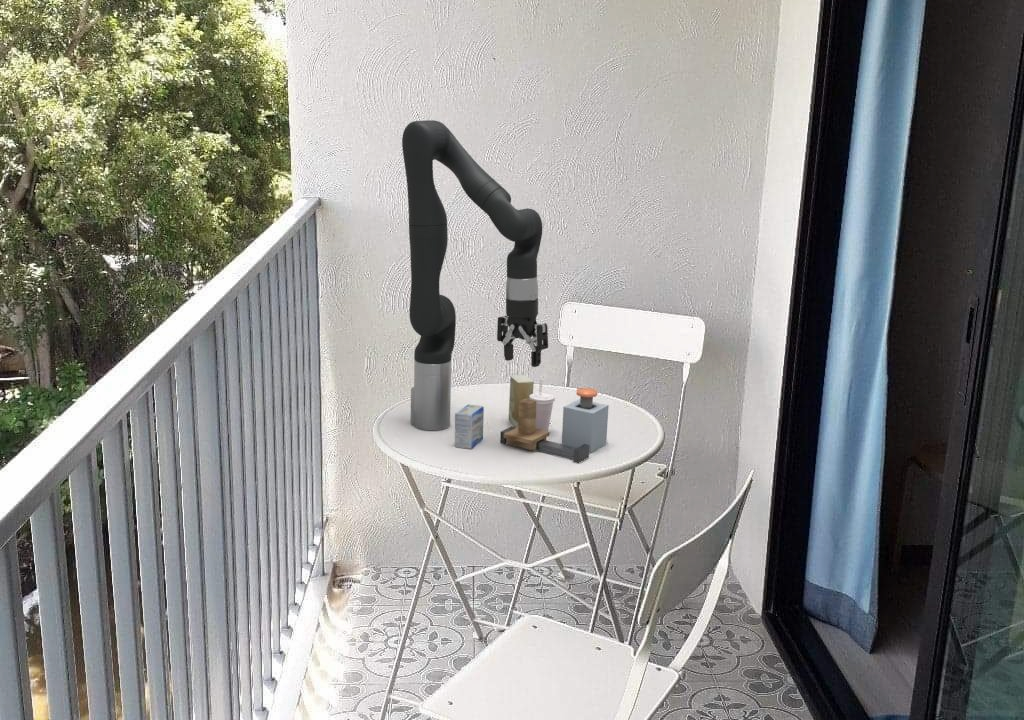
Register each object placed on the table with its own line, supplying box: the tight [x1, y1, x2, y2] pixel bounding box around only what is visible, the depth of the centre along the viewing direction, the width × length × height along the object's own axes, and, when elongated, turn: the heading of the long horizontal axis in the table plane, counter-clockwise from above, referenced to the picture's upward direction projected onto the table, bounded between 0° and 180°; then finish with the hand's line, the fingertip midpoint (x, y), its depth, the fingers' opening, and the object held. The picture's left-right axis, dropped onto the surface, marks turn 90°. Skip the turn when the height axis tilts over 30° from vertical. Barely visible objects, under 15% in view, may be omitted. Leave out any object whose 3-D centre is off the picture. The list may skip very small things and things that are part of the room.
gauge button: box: [576, 387, 598, 410], centre depth 242 cm, size 5×5×7 cm
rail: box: [499, 425, 590, 464], centre depth 240 cm, size 22×5×3 cm, turn 57°
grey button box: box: [561, 398, 610, 454], centre depth 243 cm, size 8×8×10 cm
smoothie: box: [529, 378, 556, 432], centre depth 250 cm, size 6×6×14 cm
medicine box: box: [454, 404, 485, 450], centre depth 242 cm, size 8×4×9 cm, turn 160°
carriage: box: [504, 399, 550, 452], centre depth 241 cm, size 8×8×11 cm
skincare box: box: [507, 374, 535, 428], centre depth 257 cm, size 6×4×12 cm
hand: (522, 363), depth 237 cm, fingers open, 8 cm apart
